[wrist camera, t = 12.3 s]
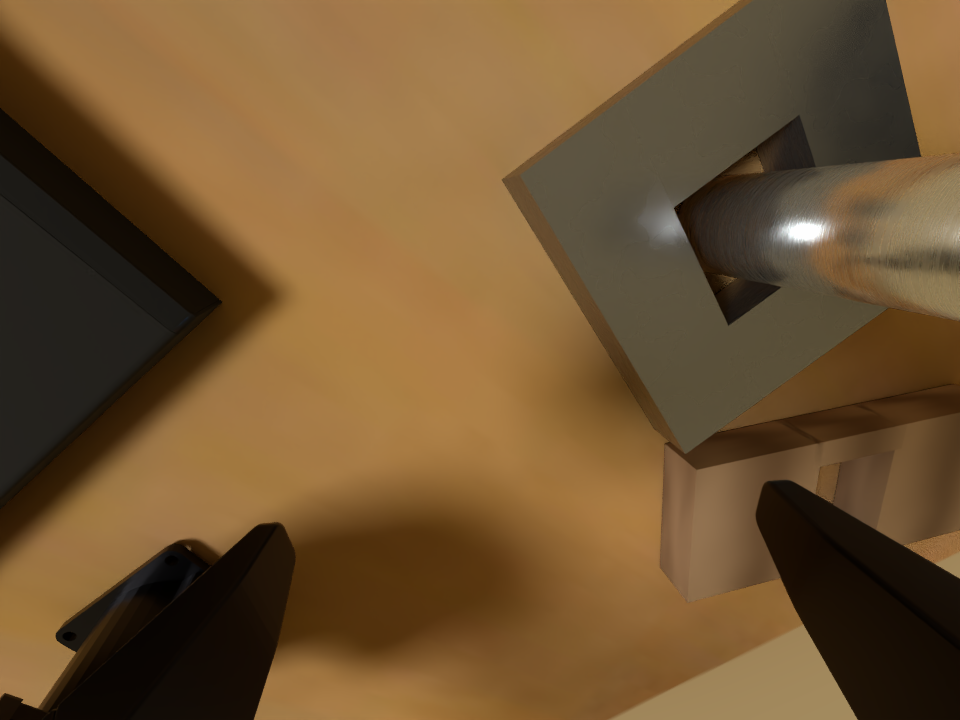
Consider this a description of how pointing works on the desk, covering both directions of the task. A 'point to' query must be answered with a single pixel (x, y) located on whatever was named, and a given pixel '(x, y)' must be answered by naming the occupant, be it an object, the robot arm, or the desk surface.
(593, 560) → the desk surface
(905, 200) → the steel axle
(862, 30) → the block
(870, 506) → the wooden block with hole
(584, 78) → the desk surface
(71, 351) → the external hard drive
